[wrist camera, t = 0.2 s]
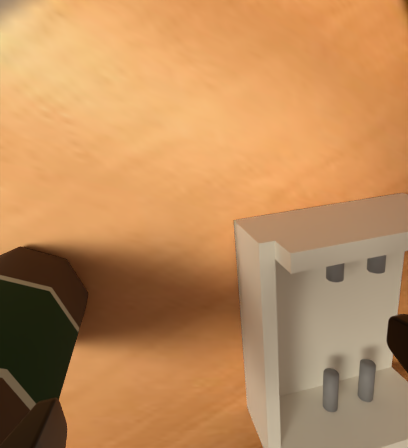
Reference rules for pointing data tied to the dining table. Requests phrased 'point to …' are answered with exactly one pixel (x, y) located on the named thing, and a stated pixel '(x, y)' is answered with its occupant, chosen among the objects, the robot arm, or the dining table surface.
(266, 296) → the tray
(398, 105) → the dining table surface
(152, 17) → the dining table surface
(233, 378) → the dining table surface
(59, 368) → the beer bottle
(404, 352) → the robot arm
